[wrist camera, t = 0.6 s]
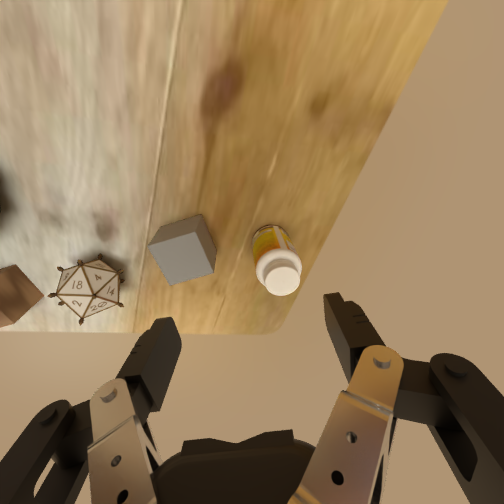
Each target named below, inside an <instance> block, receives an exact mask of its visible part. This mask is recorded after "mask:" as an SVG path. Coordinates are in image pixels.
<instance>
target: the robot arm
mask: <svg viewBox="0 0 504 504" xmlns="http://www.w3.org/2000/svg"><path fill="white" fill-rule="evenodd" d="M323 298H324V311H325V321H326V326H327V330H328V333H329V335H330V338H331V340H332V343H333V345H334V348H335V350H336V353H337V355H338V358H339V361H340V363H341V365H342V368H343V371H344V373H345V376H346V378H347V380H348V383H349V386H348V388H347V390H346V391H344V390H343V391H341V393H340V394H339V396H338V398H337V400H336V403H335V405H334V407H333V410H332V412H331V414H330V417H329V419H328V421H327V423H326V425H325V428H324V430H323V432H322V435H321V437H320V439H319V441H318V444H317V446H316V447H314V446H313V445H311V444H309V443H307V442H304V441H301V440H297V439H294V436H293V430H292V429H291V430H282V431H272V432H264V433H262V434H260V435H257V436H255V437H252V438H250V439H247V440H245V441H242V442H240V443H231V442H226V441H221V440H216V439H212V438H207V439H197V440H187V441H184V442H183V446H182V450H181V452H179V453H177V454H175V455H174V456H172V457H170V458H169V459H167V460H166V461H165V462H164V463H163V461H162V459H161V456H160V454H159V451H158V448H157V445H156V442H155V439H154V436H153V433H152V431H151V427H150V424H149V422H148V420H147V418H148V415H149V413H150V412H157V411H160V408H161V406H162V403H163V400H164V397H165V395H166V392H167V389H168V386H169V383H170V380H171V377H172V374H173V372H174V369H175V366H176V363H177V360H178V357H179V354H180V352H181V345H182V344H181V338H180V335H179V333H178V330H177V328H176V325H175V323H174V320H173V318H172V317H166V318H159V319H156V320H155V321H154V323H153V325H152V326H151V328H150V330H147V331H146V332H144V333H143V334H142V336H140V337H139V339H138V341H137V342H136V344H135V346H134V348H133V349H132V351H131V352H130V355H129V356H128V358H127V359H126V361H125V363H124V364H123V366H122V368H121V370H120V371H119V373H118V375H117V376H116V378H115V379H113V380H111V381H108V382H107V383H105V384H103V385H102V386H101V387H100V388H99V389H98V390H97V391H96V392H95V393H94V394H93V396H92V398H91V399H90V400H87V401H85V402H82V403H80V404H78V405H75V406H73V407H72V406H71V404H70V403H69V402H68V401H67V400H58V401H56V402H53V403H51V404H49V405H48V406H46V407H45V408H43V409H42V410H41V411H40V412H39V413H38V414H37V415H36V416H35V417H34V418H33V419H32V420H31V422H30V423H29V424H28V426H27V427H26V428H25V430H24V431H23V432H22V434H21V435H20V436H19V438H18V439H17V440H16V442H15V443H14V444H13V446H12V447H11V448H10V450H9V451H8V452H7V454H6V455H5V456H4V458H3V459H2V460H1V462H0V504H74V503H75V501H76V499H77V497H78V495H79V493H80V490H81V488H82V486H83V484H84V481H85V479H86V477H87V475H88V473H89V478H90V491H91V503H92V504H381V501H382V496H383V492H384V487H385V481H386V475H387V469H388V463H389V458H390V453H391V449H392V444H393V440H394V436H395V431H396V426H397V422H398V418H400V419H404V420H409V421H413V422H418V423H423V424H427V426H428V428H429V430H430V431H431V433H432V435H433V437H434V439H435V440H436V442H437V444H438V446H439V448H440V450H441V451H442V453H443V455H444V457H445V459H446V460H447V462H448V464H449V466H450V468H451V470H452V471H453V473H454V475H455V477H456V479H457V481H458V482H459V484H460V486H461V488H462V490H463V491H464V493H465V495H466V497H467V499H468V500H469V502H470V504H504V397H503V395H502V394H501V393H500V392H499V391H498V390H497V389H496V388H495V386H494V385H493V384H492V383H491V382H490V381H489V380H488V379H487V378H486V377H485V375H484V374H483V373H482V372H481V371H480V370H479V369H478V368H477V367H476V366H475V365H474V364H473V363H472V362H470V361H468V360H467V359H465V358H463V357H460V356H457V355H454V354H449V353H440V354H436V355H434V356H433V357H432V358H431V360H430V363H429V362H422V361H414V360H408V359H405V358H402V357H401V356H400V355H399V354H398V353H397V352H396V351H394V350H393V349H391V348H389V347H386V345H385V344H384V342H383V341H382V339H381V338H380V336H379V335H378V333H377V332H376V330H375V328H374V327H373V325H372V324H371V322H369V319H368V318H367V316H366V315H365V313H364V311H363V310H362V309H361V307H360V306H359V305H357V304H356V303H354V302H353V301H346V302H344V300H343V298H342V297H341V295H340V293H339V292H337V293H330V294H324V297H323ZM51 458H52V460H53V461H54V462H55V463H54V465H53V467H52V468H51V470H50V472H49V474H48V475H47V477H46V479H45V480H44V482H43V484H42V486H41V487H40V489H39V491H38V492H37V494H36V496H35V498H34V488H35V485H36V482H37V480H38V479H39V477H40V475H41V473H42V472H43V470H44V469H45V467H46V465H47V463H48V462H49V460H50V459H51Z"/></svg>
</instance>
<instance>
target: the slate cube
mask: <svg viewBox="0 0 504 504" xmlns="http://www.w3.org/2000/svg"><path fill="white" fill-rule="evenodd" d="M147 247H148V248H149V250H150V252H151V254H152V255H153V257H154V259H155V261H156V262H157V264H158V266H159V268H160V269H161V271H162V273H163V275H164V276H165V278H166V280H167V282H168V283H169V285H174V284H177V283H181V282H184V281H188V280H191V279H195V278H198V277H202V276H205V275H209V274H212V273H214V268H215V260H216V253H217V250H216V248H215V246H214V243H213V241H212V238H211V236H210V234H209V231H208V229H207V226H206V224H205V222H204V219H203V217H202V214H201V215H197V216H194V217H191V218H188V219H184V220H181V221H178V222H175V223H171V224H168V225H165V226H162V227H160V229H159V230H158V231H157V233H156V234H155V236H154V237H153V239H152V240H151V242H150V243H149V244H148V246H147Z"/></svg>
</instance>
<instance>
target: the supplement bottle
mask: <svg viewBox="0 0 504 504" xmlns="http://www.w3.org/2000/svg"><path fill="white" fill-rule="evenodd" d="M252 250H253V256H254V263H255V269H256V275H257V278H258V279H259V281H260V282H261V283H262V284H263V285H264V286H266V288H267V290H268V291H269V292H270V293H272V294H274V295H278V296H284V295H288V294H290V293H292V292H293V291H295V290H296V289H297V287H298V286H299V283H300V274H301V271H302V264H301V261H300V258H299V256H298V254H297V252H296V250H295V248H294V246H293V244H292V242H291V240H290V238H289V236H288V234H287V232H286V231H285V230H284V229H282V228H280V227H278V226H266V227H263V228H261V229H260V230H258V231H257V232H256V234H255V235H254V237H253V240H252Z"/></svg>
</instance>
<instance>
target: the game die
mask: <svg viewBox="0 0 504 504" xmlns="http://www.w3.org/2000/svg"><path fill="white" fill-rule="evenodd" d="M102 257H103V256H102V255H101V254H100V255H98V259H97V260H93V261H90V262H87V263H83V262H82V261H81V260H78V262H77V263H78V264H79V265H77V266H74V267H71V268H67V269H63V268H62V267H57V269H58V270H59V271H62V274H61V278H60V281H59V284H58V288H57V291H56V293H50V294H49V295H48V297H51V298H52V297H55V296H57V297H58V298H59V299H60V300H61V302H59V304H58V305H64V303H65V304H66V305H67V306H68V307H69V308H70V309H71V310H72V311H74V312H75V313H76V314H77V315H78V316H79V317H80V318H81V319H80V320H79V324H80V325H81V324H82V323H84V322H83V321H84V318H86V317H88V316H91V315H93V314H95V313H98V312H100V311H103V310H105V309H108V308H110V307H112V306H115V305H119V306H120V307H124V306H123V304H122V303H119V291H120V283H123V282H124V281H125V280H123V279H122V280H120V278H119V274H121V273H123V271H124V270H121V269H120V270H119V271H118V272H117V271H116V270H114V269H113V268H111V267H110V266H109V265H107V264H106V263H104V262H103V261H102V260H101V258H102Z"/></svg>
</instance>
